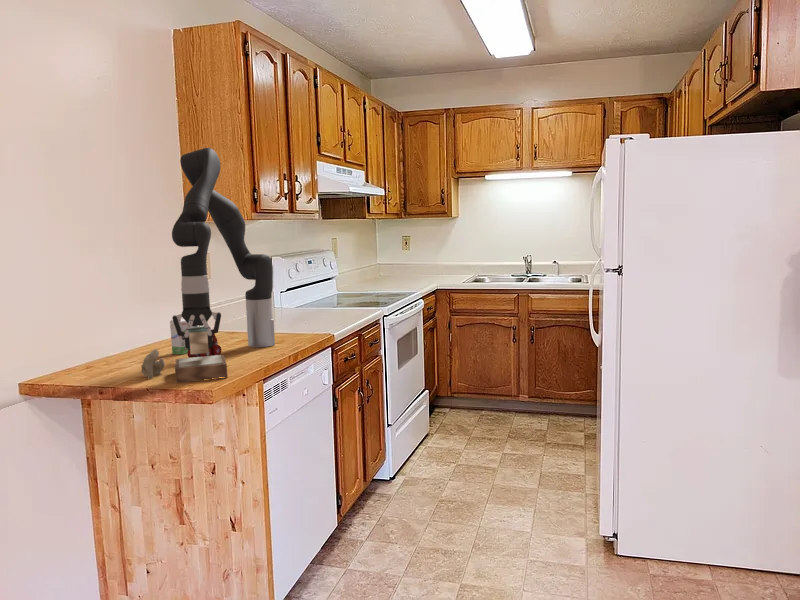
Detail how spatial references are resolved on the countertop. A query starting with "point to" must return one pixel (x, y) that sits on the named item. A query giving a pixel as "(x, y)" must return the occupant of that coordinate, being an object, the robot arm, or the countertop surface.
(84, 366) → the countertop surface
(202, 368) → the base slab
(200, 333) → the maple block
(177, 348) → the ink box
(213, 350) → the toy fire truck
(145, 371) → the bone
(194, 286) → the robot arm
